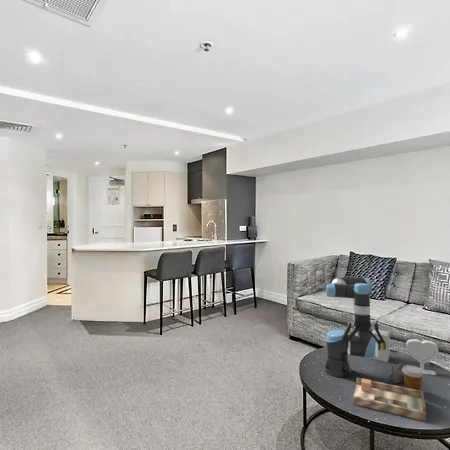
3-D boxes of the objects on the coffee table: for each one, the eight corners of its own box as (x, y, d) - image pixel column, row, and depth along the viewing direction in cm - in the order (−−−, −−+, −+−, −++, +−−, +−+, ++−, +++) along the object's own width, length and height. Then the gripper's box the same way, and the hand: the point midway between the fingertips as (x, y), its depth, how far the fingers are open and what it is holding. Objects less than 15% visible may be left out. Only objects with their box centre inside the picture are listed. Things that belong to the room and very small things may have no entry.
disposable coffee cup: (423, 399, 157) (423, 375, 157) (401, 394, 162) (401, 370, 162) (423, 390, 165) (423, 367, 165) (402, 385, 170) (402, 363, 170)
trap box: (353, 403, 155) (353, 392, 155) (356, 387, 169) (356, 377, 169) (425, 421, 141) (425, 409, 141) (423, 402, 155) (422, 391, 155)
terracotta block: (361, 390, 162) (361, 382, 162) (362, 386, 166) (361, 378, 165) (370, 392, 160) (370, 384, 160) (371, 388, 164) (371, 380, 163)
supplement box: (371, 358, 202) (370, 332, 202) (373, 353, 210) (373, 328, 209) (387, 362, 197) (387, 335, 196) (390, 357, 204) (389, 331, 204)
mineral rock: (414, 377, 178) (413, 359, 178) (419, 387, 168) (419, 368, 168) (388, 374, 182) (388, 357, 182) (392, 384, 172) (391, 365, 172)
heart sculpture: (407, 370, 186) (407, 340, 185) (406, 367, 190) (406, 337, 190) (438, 375, 179) (438, 344, 179) (437, 371, 184) (436, 340, 184)
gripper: (338, 313, 165) (338, 355, 164) (390, 316, 159) (391, 359, 158) (336, 310, 172) (336, 350, 171) (386, 313, 167) (387, 354, 166)
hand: (362, 355), depth 165 cm, fingers open, 13 cm apart
